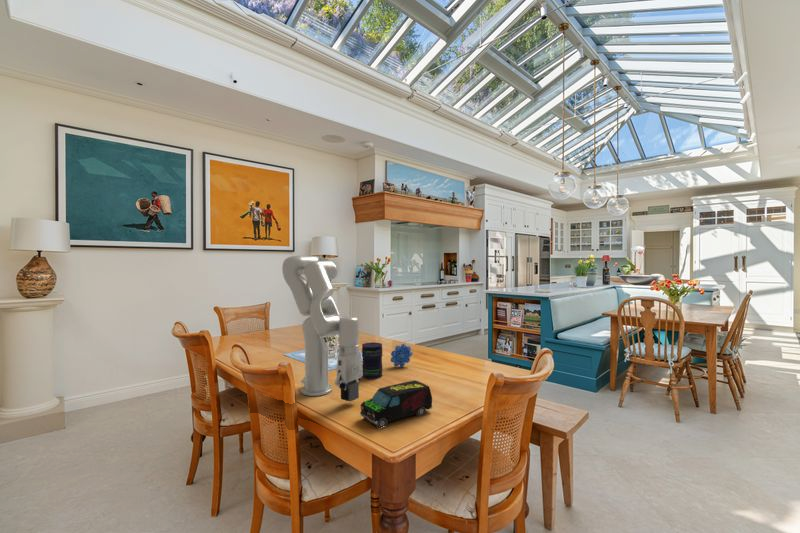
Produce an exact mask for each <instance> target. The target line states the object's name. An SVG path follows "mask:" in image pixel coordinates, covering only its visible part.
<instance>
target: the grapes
mask: <svg viewBox="0 0 800 533" xmlns="http://www.w3.org/2000/svg"><path fill="white" fill-rule="evenodd" d="M411 350H412V347H411V346H410V345H407V344H406V343H402V344H401V345H396V346H395V347H394V350H392V351H391V353H390V356H391V358H390V362H391V363H393V365H394V367H404V366H405V365H406V364H409V363H410V362H411V357H412V356H413V351H411Z"/></svg>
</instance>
